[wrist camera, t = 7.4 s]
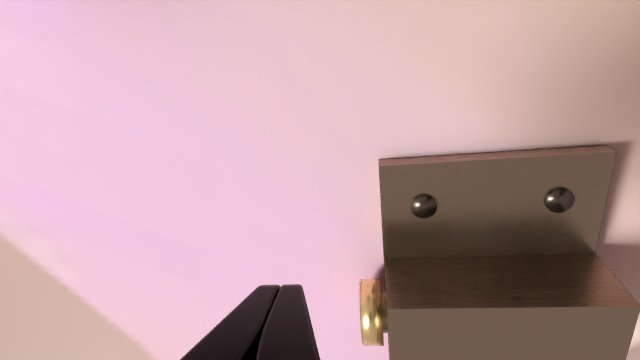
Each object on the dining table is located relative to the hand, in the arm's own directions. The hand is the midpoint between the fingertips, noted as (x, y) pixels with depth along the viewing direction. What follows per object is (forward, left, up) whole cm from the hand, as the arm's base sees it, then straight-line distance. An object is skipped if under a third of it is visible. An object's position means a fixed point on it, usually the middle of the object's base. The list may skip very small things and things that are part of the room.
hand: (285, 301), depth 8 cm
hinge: (-7, +9, -12) cm, 17 cm away
